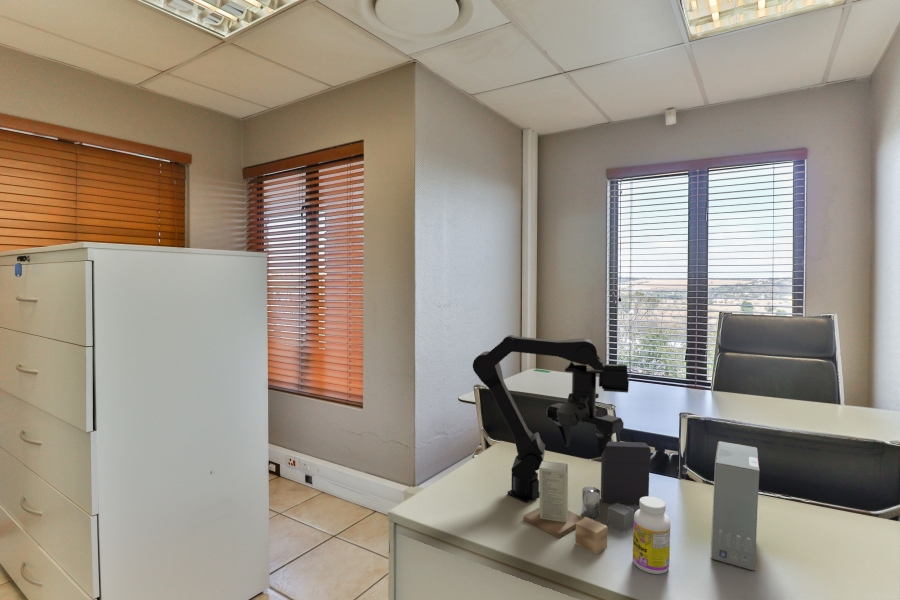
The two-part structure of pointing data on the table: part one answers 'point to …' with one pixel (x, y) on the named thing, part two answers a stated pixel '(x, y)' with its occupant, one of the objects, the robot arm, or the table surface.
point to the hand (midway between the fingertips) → (582, 451)
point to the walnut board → (553, 523)
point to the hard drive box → (735, 505)
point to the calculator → (625, 472)
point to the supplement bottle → (651, 536)
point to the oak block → (591, 535)
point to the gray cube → (620, 517)
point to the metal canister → (591, 502)
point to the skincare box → (553, 491)
